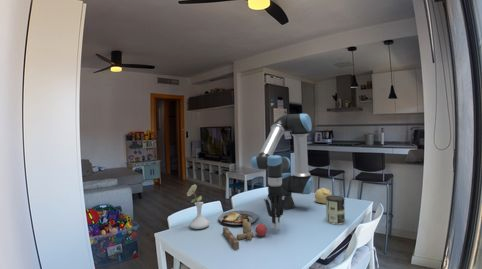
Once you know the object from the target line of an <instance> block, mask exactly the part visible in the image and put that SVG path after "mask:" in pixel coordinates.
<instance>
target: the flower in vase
mask: <svg viewBox="0 0 482 269" xmlns="http://www.w3.org/2000/svg"><path fill="white" fill-rule="evenodd" d="M196 190H197V184H192V185H191V186H190V188H189V189H188V191H187V192H186V197H190V196H192V195H194V197H195V198H193V199H191V201H190V204H192V203H194V205H195V207H196V216H195V217H194V218H193V219H192V220H191V221H190V223H189V227H190V228H191V229H196V230H201V229H205V228H207V227H208V226H210V224H211V223H210V221H209V220H208V219H206V218H205V217H204V216H203V215H202V206H203V204H204V202H203V201H201V200H202V198H203V196H202V195H199V196H198V197H197V196H196V193H195V191H196Z"/></svg>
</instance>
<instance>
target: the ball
mask: <svg viewBox="0 0 482 269" xmlns="http://www.w3.org/2000/svg"><path fill="white" fill-rule="evenodd" d="M254 229H255V230H254V231H255V234H256V235H257V236H259V237H264V236H266V234H267V232H268V229H267V226H266V225H265V224H264V223H258V224H257V225H256V227H255V228H254Z"/></svg>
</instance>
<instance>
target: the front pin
mask: <svg viewBox="0 0 482 269" xmlns="http://www.w3.org/2000/svg"><path fill="white" fill-rule="evenodd" d="M254 237H255V233H254V232H253V231H251V238H254ZM236 239H237V240H238V241H239V240H244V239H246V240H247V233H245V234H243V233H240V234H236Z"/></svg>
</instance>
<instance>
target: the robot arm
mask: <svg viewBox="0 0 482 269" xmlns="http://www.w3.org/2000/svg"><path fill="white" fill-rule="evenodd" d="M312 127H313V125H312V119H311V117H310V115H309V114H308V113H292V114H291V113H290V114H288V113H287V114H283V115H281V116H279V117H278V118H276V120H275V121H274V122H273V123H272V124H271V127H270V131H269V134H268V136H267V138H266V140H265V142H264V143H263V146H262V148H261V150H260V151H259V152H258V155H256V156H253V157H252V158H251V160H250V165H251V167H252V169H254V170H259V171H260V170H264V171H267V191H268V194H267V197H266V198H263V201H264V203H265V206H266V210H267V214H268V216H269V217H270V218H271V223H272V224H273V229H274V230H275V231H278V230H279V223H280V222H281V221H280V219H281V217H282V216H283V215H284V212H285V211H286V210H291V209H294V208H295V202H294V198H293V196H292V195H293V194H300V195H310V194H311V193H312V192H313V189H314V184H315V179H314V177H313V176H312V175H311V173H310V172H309V163H308V162H309V161H308V160H309V159H308V140H307V139H308V136H309V134H310V132H311V131H312ZM286 132H290V135H291V136H292V137H293V150H294V151H293V152H294V153H293V154H294V156H293V158H294V172H293V174H292V173H291V172H285V171H288V169H290V167H291V165H292V164H291V160H290V158H288V157H287V156H281V155H278V154H277V155H274V152H275V150H276V148H277V146H278V143H279V142H280V140H281V138H282V136H283V135H284V134H285V133H286ZM283 171H284V173H283Z"/></svg>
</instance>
